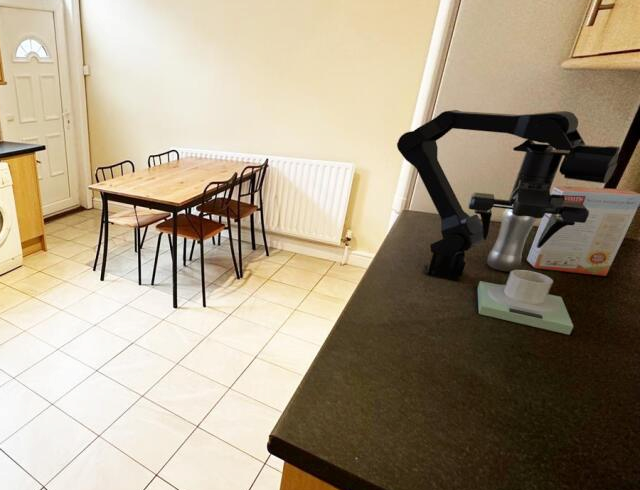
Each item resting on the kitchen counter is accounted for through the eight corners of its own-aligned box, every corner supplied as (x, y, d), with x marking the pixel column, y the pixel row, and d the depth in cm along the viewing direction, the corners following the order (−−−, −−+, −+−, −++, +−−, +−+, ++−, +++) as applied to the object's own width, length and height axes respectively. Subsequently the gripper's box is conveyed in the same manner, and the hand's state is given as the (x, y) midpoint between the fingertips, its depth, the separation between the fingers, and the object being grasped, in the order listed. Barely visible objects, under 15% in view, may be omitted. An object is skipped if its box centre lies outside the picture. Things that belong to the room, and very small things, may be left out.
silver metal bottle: (489, 272, 106) (517, 197, 98) (480, 262, 112) (505, 190, 104) (521, 276, 104) (552, 199, 96) (510, 265, 109) (538, 191, 101)
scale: (478, 314, 89) (482, 302, 88) (477, 288, 99) (481, 277, 98) (569, 335, 81) (575, 322, 80) (558, 304, 91) (562, 293, 90)
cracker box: (593, 267, 107) (631, 188, 98) (606, 277, 102) (646, 195, 93) (524, 259, 112) (553, 184, 104) (533, 268, 107) (564, 190, 99)
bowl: (504, 299, 89) (512, 278, 87) (502, 287, 93) (509, 267, 91) (546, 308, 85) (555, 286, 83) (541, 295, 90) (550, 274, 88)
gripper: (480, 177, 86) (458, 246, 92) (610, 188, 76) (575, 265, 82) (479, 167, 94) (459, 231, 100) (596, 176, 84) (565, 247, 90)
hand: (510, 243), depth 93 cm, fingers open, 9 cm apart
